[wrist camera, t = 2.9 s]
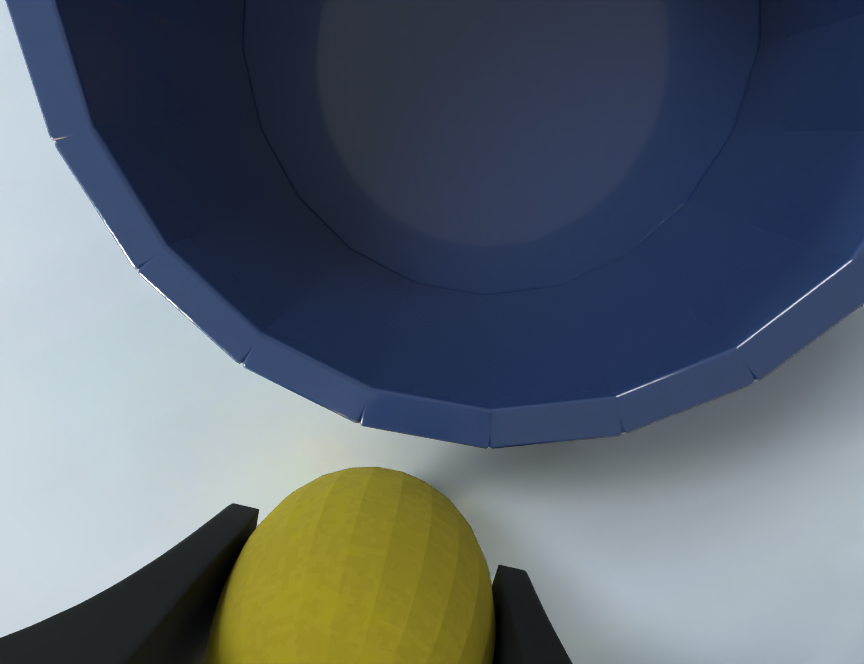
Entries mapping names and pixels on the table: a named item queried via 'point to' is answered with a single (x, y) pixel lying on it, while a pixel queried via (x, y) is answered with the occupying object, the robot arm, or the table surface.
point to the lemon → (358, 579)
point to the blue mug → (475, 193)
